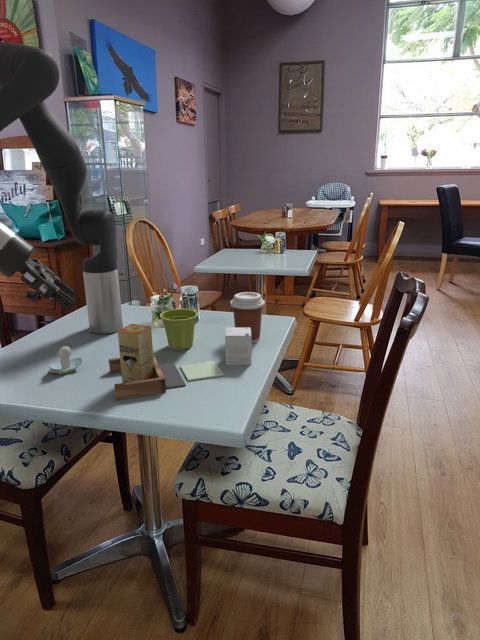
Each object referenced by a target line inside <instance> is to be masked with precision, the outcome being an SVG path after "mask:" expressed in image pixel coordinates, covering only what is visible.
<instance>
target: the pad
mask: <svg viewBox="0 0 480 640" xmlns="http://www.w3.org/2000/svg"><path fill="white" fill-rule="evenodd" d="M179 368H180V369H181V371H182V373H183V375H184V376H185V378H186V380H187V382H193V381H199V380H205V379H206V380H207V379H213V378H219V377H224V376H225V375H224V374H225V373H223V372H222V370H221V369H220V367H219V366H218V365H217V363H216V362H215V361H214V360H212V361H205V362H198V363H192V364H191V363H190V364H185V365H180V366H179Z"/></svg>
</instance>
